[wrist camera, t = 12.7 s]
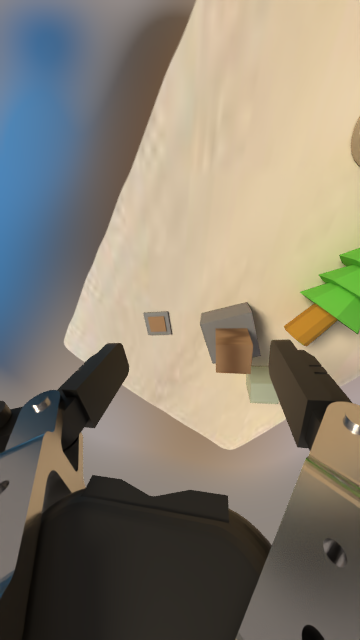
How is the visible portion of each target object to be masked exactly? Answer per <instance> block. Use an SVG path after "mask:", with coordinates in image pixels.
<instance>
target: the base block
mask: <svg viewBox="0 0 360 640" xmlns="http://www.w3.org/2000/svg"><path fill="white" fill-rule="evenodd" d="M200 326H201V329H202V332H203V335H204V338H205V342H206V345H207V348H208V351H209V354H210V357H211V360H212V363H213V364H214V363H216V328H247V329H248V332H249V335H250V338H251V341H252V343H253V352H252V357H258V356H261V355H260V350H259V345H258V340H257V335H256V330H255V325H254V320H253V315H252V311H251V309H250V307H249V305H248V303H247V302H245V303H241V304H237V305H233V306H229V307H225V308H221V309H217V310H213V311H209V312H205V313H202V314H201V321H200Z"/></svg>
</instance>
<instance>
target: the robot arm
mask: <svg viewBox="0 0 360 640" xmlns="http://www.w3.org/2000/svg"><path fill="white" fill-rule="evenodd" d="M351 149H352V155H353V157H354V160H355V161H356V162H357V164H358V165H360V117H359V119H358V121H357V123H356V126H355V128H354V131H353V135H352V141H351ZM128 372H129V364H128V361H127V358H126V354H125V351H124V348H123V345H122V344H121V343H108V344H106V345H105V346H104V347H103V348H102V349H101V350H100V351H99V352H98V353H96V354H95V355H93V356H92V357H90V358H89V359H88V360H87V361H86V362H85V363H84V365H82V366H81V367H80V368H79V370H77V371H76V372H75V373H74V374H73V375H72V376H71V377H70V378H69V379H68V380H67V381H66V382H65V383H64V384H63V385H62V386H61V387H60V388H59V389H58V390H49V391H46V392H43V393H40V394H39V395H37V396H35V397H33V398H32V399H31V400H29V401H28V402H27V403H26V404H25V405H24V406H23V407H19V408H15V409H9V407H8V406H7V405H6V403H5V402H4V401H0V640H360V406H359V405H357V404H353V403H352V402H351V401H350V399H349V398H348V397H347V396H346V394H345V393H344V392H343V391H342V390H341V389H340V387H339V386H338V385H337V384H336V382H335V381H334V380H333V379H332V378H331V376H330V375H329V374H327V372H326V370H325V369H324V368H323V367H321V364H320V363H319V362H318V361H317V359H316V358H315V357H314V356H312V355H311V354H309V353H307V352H306V351H304V350H297V349H296V347H295V346H294V344H293V343H292V342H291V341H290V340H272V341H271V345H270V357H269V375H270V379H271V381H272V384H273V386H274V389H275V391H276V394H277V397H278V399H279V402H280V404H281V407H282V409H283V412H284V414H285V417H286V419H287V422H288V424H289V427H290V429H291V432H292V435H293V437H294V440H295V442H296V444H297V447H301V448H309V450H310V454H309V456H308V457H307V458H306V460H305V462H304V464H303V467H302V469H301V472H300V475H299V477H298V480H297V482H296V485H295V487H294V490H293V493H292V495H291V498H290V500H289V503H288V505H287V508H286V511H285V513H284V516H283V518H282V521H281V524H280V526H279V529H278V531H277V534H276V536H275V539H274V541H273V544H272V545H271V544H270V543H269V541H268V540H267V539H266V538H265V537H264V536H263V535H262V534H261V532H260V531H259V530H258V529H256V528H255V526H253V525H252V524H251V523H250V522H249V521H248V520H246V519H245V518H244V517H242V516H241V515H239V514H238V513H236V512H234V511H232V510H230V509H229V508H228V496H226V495H220V494H213V493H207V492H200V491H194V490H187V491H182V492H176V493H171V494H166V495H160V496H154V497H153V496H149V495H147V494H145V493H144V492H142V491H140V490H139V489H137V488H135V487H133V486H132V485H130V484H128V483H127V482H125V481H123V480H122V479H115V478H108V477H101V476H95V475H92V477H91V479H90V481H89V483H88V485H87V487H85V484H84V479H83V435H82V433H81V431H82V430H83V428H84V427H89V428H95V427H96V425H97V424H98V422H99V420H100V419H101V417H102V415H103V414H104V412H105V411H106V409H107V408H108V406H109V404H110V403H111V401H112V399H113V398H114V396H115V394H116V393H117V391H118V390H119V388H120V386H121V385H122V383H123V382H124V380H125V379H126V377H127V375H128Z"/></svg>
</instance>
